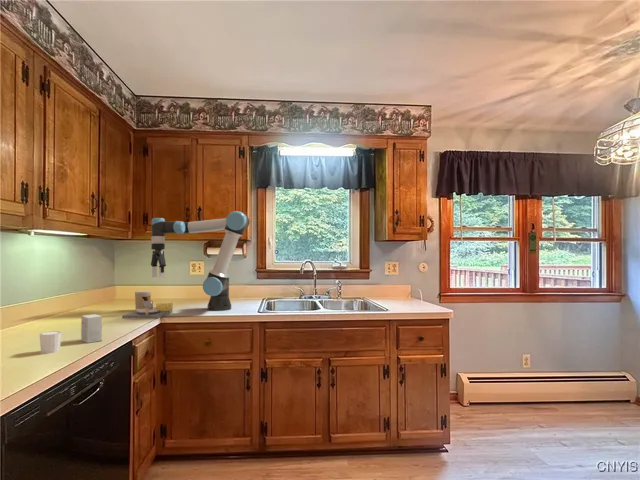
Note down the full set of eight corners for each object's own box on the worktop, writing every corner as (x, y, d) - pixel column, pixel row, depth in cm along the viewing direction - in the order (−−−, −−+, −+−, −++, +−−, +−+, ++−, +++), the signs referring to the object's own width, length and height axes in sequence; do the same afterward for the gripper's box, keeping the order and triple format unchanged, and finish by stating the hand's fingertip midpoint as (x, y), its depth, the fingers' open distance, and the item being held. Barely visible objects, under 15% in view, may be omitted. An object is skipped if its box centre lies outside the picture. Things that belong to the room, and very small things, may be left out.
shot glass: (38, 355, 137) (39, 336, 137) (39, 350, 142) (39, 332, 142) (61, 352, 141) (62, 333, 141) (61, 348, 146) (61, 330, 146)
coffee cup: (144, 312, 229) (144, 292, 229) (131, 311, 231) (131, 291, 231) (154, 309, 238) (154, 290, 238) (141, 309, 240) (141, 290, 240)
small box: (101, 341, 158) (102, 316, 158) (86, 343, 154) (87, 317, 154) (95, 337, 163) (95, 313, 163) (80, 340, 159) (81, 315, 159)
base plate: (172, 312, 229) (172, 303, 229) (157, 318, 209) (158, 308, 209) (140, 311, 229) (140, 303, 229) (122, 318, 209) (122, 308, 209)
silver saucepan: (135, 314, 210) (136, 303, 211) (136, 310, 222) (136, 300, 222) (172, 312, 218) (173, 301, 219) (171, 309, 230) (171, 298, 230)
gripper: (145, 243, 237) (145, 276, 236) (158, 242, 218) (158, 279, 218) (157, 243, 242) (157, 276, 241) (171, 242, 223) (171, 278, 223)
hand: (158, 277), depth 229 cm, fingers open, 13 cm apart
